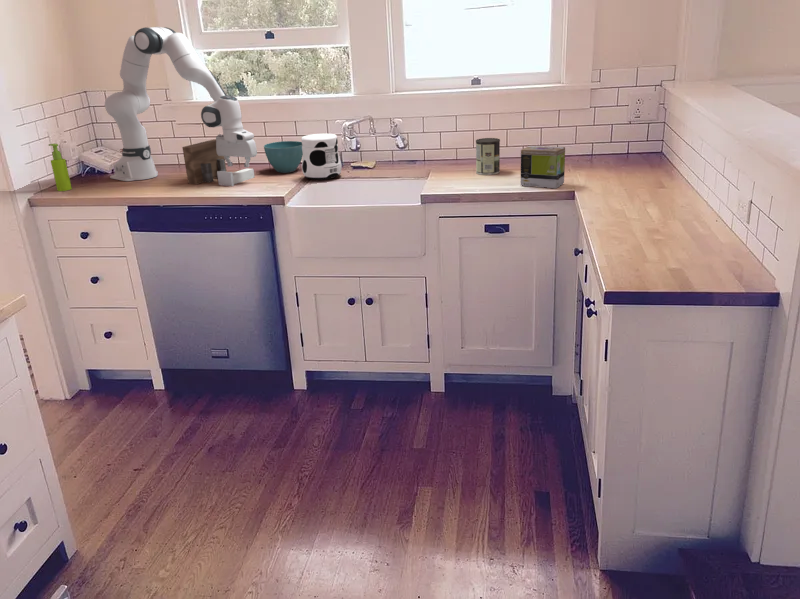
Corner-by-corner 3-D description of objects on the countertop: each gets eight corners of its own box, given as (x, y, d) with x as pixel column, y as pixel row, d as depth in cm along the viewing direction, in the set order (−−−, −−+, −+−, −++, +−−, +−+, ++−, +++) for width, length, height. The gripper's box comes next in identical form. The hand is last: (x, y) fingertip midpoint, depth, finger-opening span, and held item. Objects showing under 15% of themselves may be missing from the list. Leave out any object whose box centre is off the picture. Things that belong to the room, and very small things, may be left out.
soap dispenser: (66, 187, 314) (56, 142, 307) (74, 188, 310) (64, 143, 302) (53, 189, 310) (43, 144, 302) (61, 191, 306) (50, 145, 298)
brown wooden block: (188, 183, 310) (182, 147, 304) (218, 173, 326) (213, 139, 320) (202, 184, 306) (196, 147, 300) (232, 175, 322) (227, 139, 316)
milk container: (309, 173, 318) (305, 133, 311) (346, 173, 315) (343, 132, 308) (298, 182, 303) (293, 140, 296) (336, 182, 299) (333, 139, 293)
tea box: (564, 183, 278) (566, 146, 273) (556, 189, 271) (557, 151, 265) (528, 180, 286) (529, 144, 280) (519, 186, 278) (520, 148, 272)
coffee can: (492, 169, 309) (492, 136, 304) (504, 173, 301) (504, 140, 295) (471, 171, 306) (471, 139, 301) (482, 176, 297) (482, 142, 292)
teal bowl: (314, 168, 327) (311, 142, 323) (286, 176, 314) (283, 149, 309) (286, 165, 338) (284, 139, 333) (258, 172, 324) (255, 146, 320)
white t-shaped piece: (232, 186, 301) (230, 172, 299) (218, 185, 304) (216, 171, 302) (257, 177, 315) (256, 164, 313) (244, 176, 318) (242, 163, 316)
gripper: (210, 135, 305) (215, 167, 310) (247, 136, 295) (251, 169, 300) (220, 133, 310) (225, 164, 315) (256, 134, 300) (261, 166, 306)
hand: (238, 166), depth 308 cm, fingers open, 8 cm apart
